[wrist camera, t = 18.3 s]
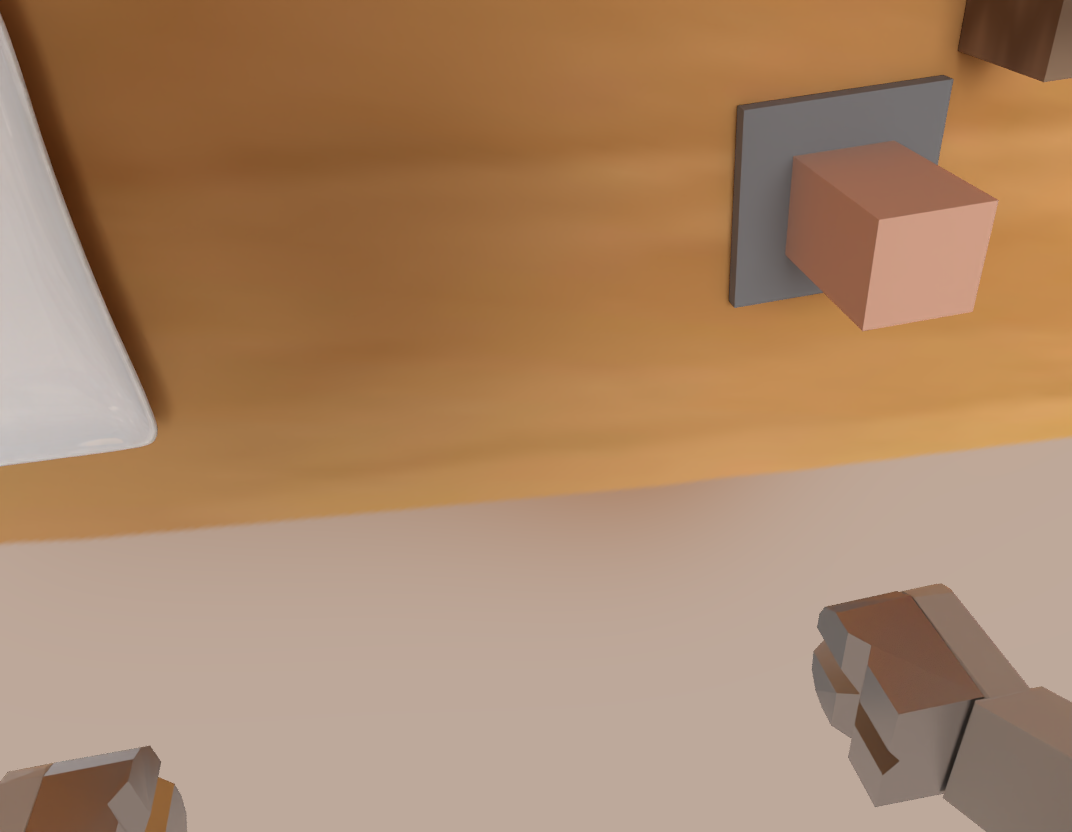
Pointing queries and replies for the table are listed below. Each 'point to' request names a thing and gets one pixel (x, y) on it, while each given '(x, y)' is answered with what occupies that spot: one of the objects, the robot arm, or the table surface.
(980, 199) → the pink block
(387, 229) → the table surface
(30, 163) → the salad plate
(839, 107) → the charcoal mat
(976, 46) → the walnut screen
